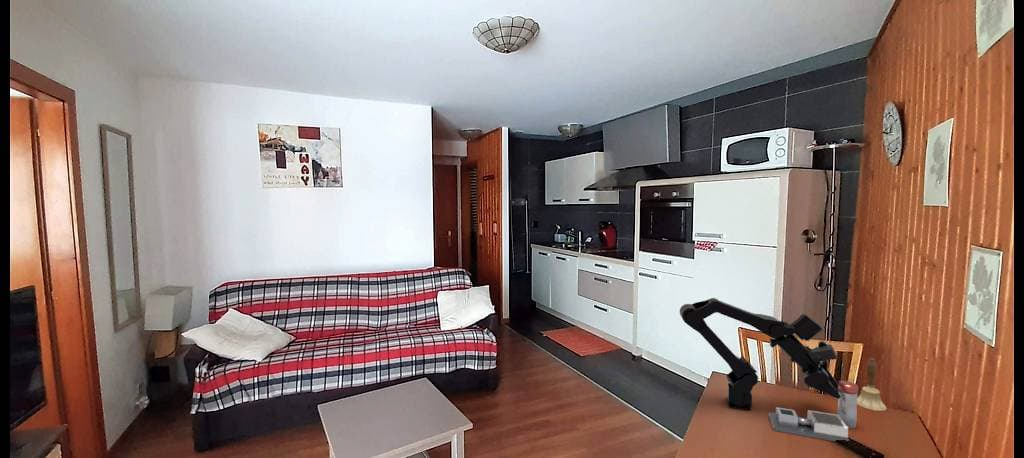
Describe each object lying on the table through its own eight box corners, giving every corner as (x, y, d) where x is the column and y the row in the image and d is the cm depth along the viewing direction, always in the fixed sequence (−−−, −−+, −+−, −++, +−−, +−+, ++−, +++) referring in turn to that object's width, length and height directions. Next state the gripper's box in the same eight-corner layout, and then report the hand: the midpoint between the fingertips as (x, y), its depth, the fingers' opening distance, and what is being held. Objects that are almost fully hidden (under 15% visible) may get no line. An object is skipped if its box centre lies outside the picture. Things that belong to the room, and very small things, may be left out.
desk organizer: (773, 430, 121) (774, 416, 121) (768, 415, 130) (768, 403, 129) (848, 443, 114) (849, 429, 114) (838, 427, 122) (838, 414, 122)
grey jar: (839, 426, 123) (841, 386, 122) (835, 418, 127) (836, 379, 127) (858, 429, 121) (860, 388, 121) (853, 421, 126) (854, 382, 125)
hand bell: (893, 412, 131) (895, 364, 130) (863, 410, 132) (865, 362, 131) (876, 400, 139) (877, 354, 138) (848, 398, 140) (849, 353, 139)
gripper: (818, 344, 120) (867, 390, 114) (817, 327, 135) (859, 367, 129) (786, 364, 125) (831, 409, 119) (788, 346, 140) (827, 385, 134)
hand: (838, 391), depth 125 cm, fingers open, 9 cm apart
